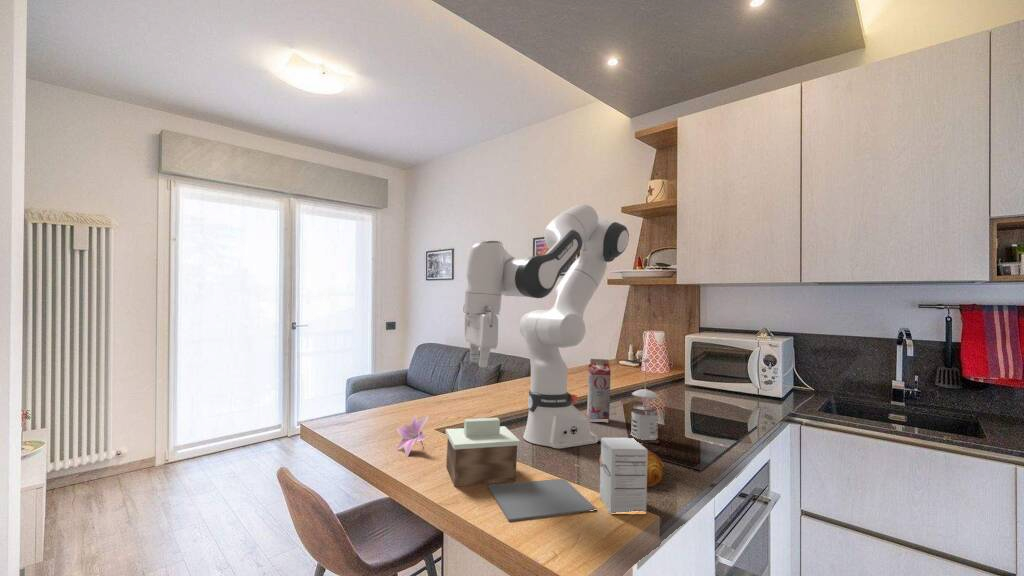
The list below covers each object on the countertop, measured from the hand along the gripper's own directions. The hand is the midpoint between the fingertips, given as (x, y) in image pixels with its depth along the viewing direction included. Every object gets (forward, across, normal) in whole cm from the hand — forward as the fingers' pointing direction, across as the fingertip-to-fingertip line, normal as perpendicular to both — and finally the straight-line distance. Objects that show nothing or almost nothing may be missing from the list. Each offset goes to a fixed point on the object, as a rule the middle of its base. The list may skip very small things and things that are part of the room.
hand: (478, 364), depth 100 cm
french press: (+24, +16, -59) cm, 65 cm away
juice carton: (+24, +38, -54) cm, 70 cm away
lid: (+18, -2, -2) cm, 18 cm away
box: (+25, -2, -2) cm, 25 cm away
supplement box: (+25, -23, -26) cm, 43 cm away
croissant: (+24, -9, -38) cm, 46 cm away
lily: (+26, +18, +12) cm, 34 cm away
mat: (+25, -16, -11) cm, 32 cm away
